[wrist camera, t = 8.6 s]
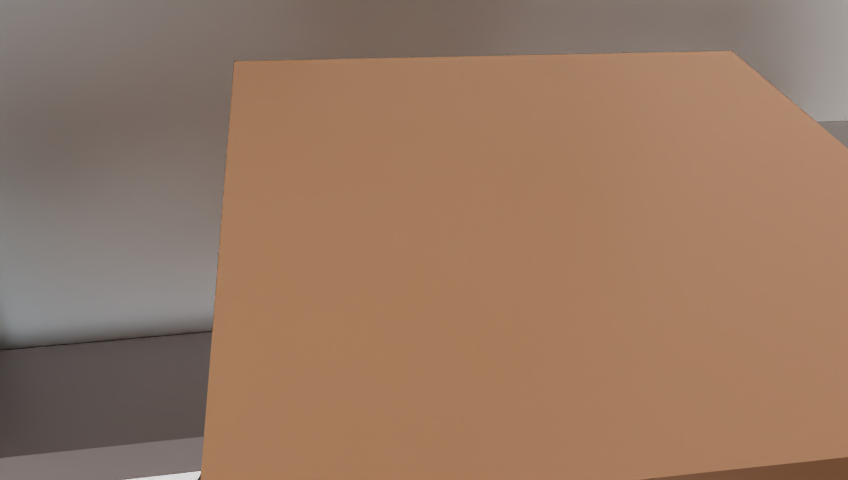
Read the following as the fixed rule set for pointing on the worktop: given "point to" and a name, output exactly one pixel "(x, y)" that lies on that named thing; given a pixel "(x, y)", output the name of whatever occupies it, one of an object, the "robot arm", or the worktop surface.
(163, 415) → the printer bay
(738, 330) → the raised panel orange block
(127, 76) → the worktop surface
